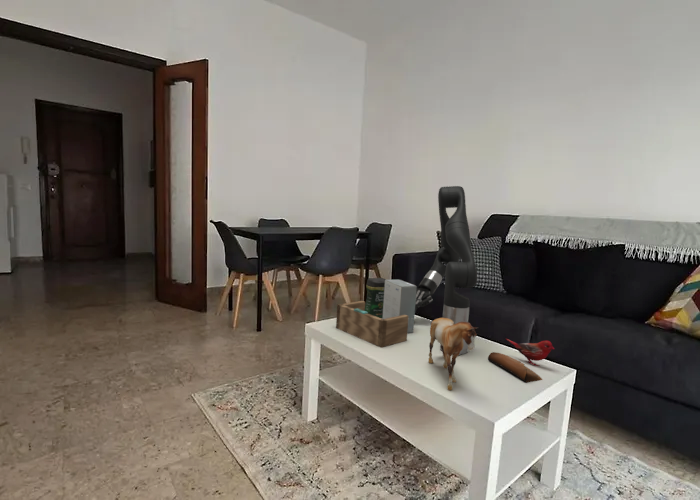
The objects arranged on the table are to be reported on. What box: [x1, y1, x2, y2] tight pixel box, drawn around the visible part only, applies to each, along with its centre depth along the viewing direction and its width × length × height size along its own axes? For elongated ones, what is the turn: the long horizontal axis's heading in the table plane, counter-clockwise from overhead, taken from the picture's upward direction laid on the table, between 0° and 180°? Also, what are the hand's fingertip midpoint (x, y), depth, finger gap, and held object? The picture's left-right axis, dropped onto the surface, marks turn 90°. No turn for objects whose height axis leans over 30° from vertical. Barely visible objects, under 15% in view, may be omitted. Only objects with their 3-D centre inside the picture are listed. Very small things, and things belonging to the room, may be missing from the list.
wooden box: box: [335, 300, 408, 348], centre depth 163 cm, size 27×14×11 cm, turn 40°
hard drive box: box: [381, 279, 418, 334], centre depth 173 cm, size 16×8×20 cm, turn 22°
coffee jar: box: [365, 277, 387, 319], centre depth 188 cm, size 10×8×19 cm
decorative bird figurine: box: [505, 338, 555, 367], centre depth 142 cm, size 3×18×10 cm, turn 39°
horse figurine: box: [428, 317, 479, 391], centre depth 127 cm, size 31×8×21 cm, turn 2°
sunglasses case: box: [487, 351, 544, 383], centre depth 135 cm, size 18×7×7 cm, turn 19°
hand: (411, 311), depth 179 cm, fingers closed
